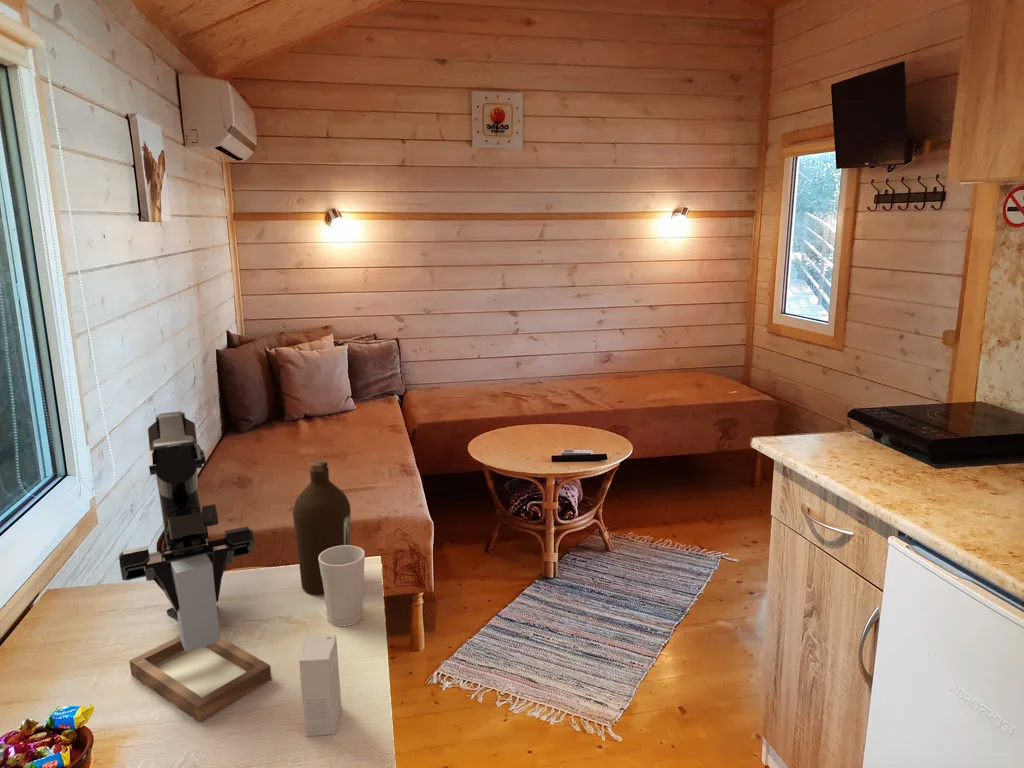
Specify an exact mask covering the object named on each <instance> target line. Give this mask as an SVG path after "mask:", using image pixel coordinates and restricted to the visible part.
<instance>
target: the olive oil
mask: <svg viewBox="0 0 1024 768" xmlns="http://www.w3.org/2000/svg"><path fill="white" fill-rule="evenodd" d="M309 465H310V469H309V475H310V482H309V484H307V485H306V487H305V488H304V489H303V490H302V491H301V493H299V495H298V496H297V498H296V499H295V502H294V505H293V510H292V519H293V526H294V533H295V539H296V549H297V557H298V563H299V573H300V581H301V582H300V583H301V588H302V590H303V591H304V592H305V593H307V594H310V595H312V596H313V595H314V596H325V595H324V588H323V581H322V576H321V572H320V566H319V560H318V557H319V555H320V554H321V553H322V552H323V551H324V550H326V549H329V548H332V547H335V546H341V545H352V544H351V543H352V542H351V514H352V513H351V510H352V509H351V505H350V502H349V501H350V500H349V499H348V496H347V495H346V494H345V492H344V491H343V490H342V489H340V488H339V487H338V486H336V485H335V484H334V483H333V482H332V481H330V478H329V475H330V474H329V473H330V472H329V468H328V461H327V460H323V459H316V460H313V461H311V462H310V463H309Z"/></svg>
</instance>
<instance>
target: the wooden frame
mask: <svg viewBox="0 0 1024 768" xmlns="http://www.w3.org/2000/svg"><path fill="white" fill-rule="evenodd" d="M220 640H221V641H220V642H217V643H214V644H211V645H208V646H205V647H201V648H198V649H195V650H192V651H189V652H185V650H184V647H183V645H182V643H181V640H180V635H179V636H177V637H174V638H172V639H170V640H168V641H166V642H164V643H162V644H160V645H158V646H156V647H154V648H151V649H150V650H148V651H146V652H143V653H142V654H140V655H137V656H135V657H133V658H131V659H130V660H129V667H130V675H131V676H133V677H135V678H136V679H137V680H139V681H140V682H142V683H143V684H144V685H146V686H147V687H149V688H150V689H151V690H153V691H154V692H155V693H157V694H159V695H160V696H161V697H163V698H164V699H166V700H167V701H168V702H170V703H171V704H173V705H174V706H176V707H177V708H178V709H180V710H181V711H183V712H184V713H186V714H187V715H189V716H190V717H191V718H192V719H194V720H196V721H197V722H198V723H202V722H203V721H205V720H207V719H209V718H210V717H212V716H213V715H215V714H217V713H218V712H220V711H222V710H223V709H225V708H226V707H228V706H230V705H231V704H233V703H235V702H237V701H238V700H240V699H241V698H243V697H245V696H246V695H248V694H250V693H251V692H253V691H255V690H256V689H258V688H259V687H261V686H263V685H265V684H266V683H268V682H270V681H271V680H272V671H271V664H269V663H267V662H265V661H264V660H262V659H260V658H259V657H256V656H254V655H253V654H251V653H249V652H247V651H246V650H244V649H242V648H241V647H239V646H238V645H235V644H233V643H232V642H230V641H228V640H226V639H225V638H223V637H222V636H220Z"/></svg>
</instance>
